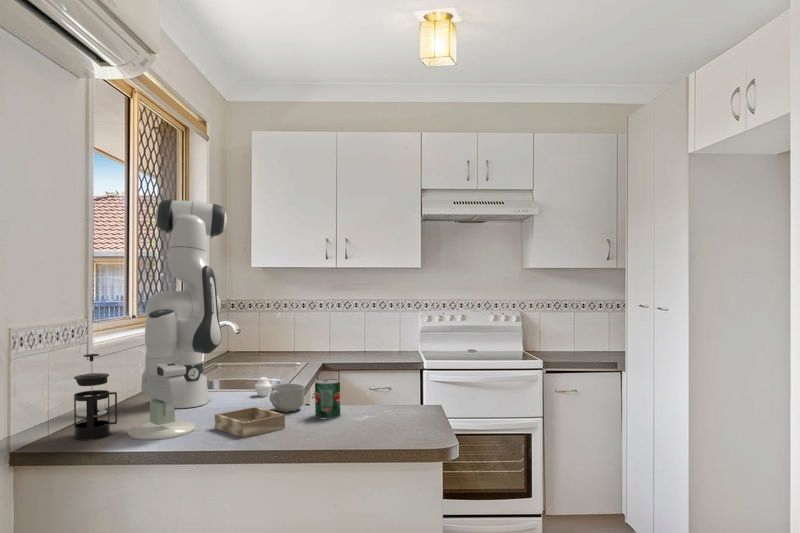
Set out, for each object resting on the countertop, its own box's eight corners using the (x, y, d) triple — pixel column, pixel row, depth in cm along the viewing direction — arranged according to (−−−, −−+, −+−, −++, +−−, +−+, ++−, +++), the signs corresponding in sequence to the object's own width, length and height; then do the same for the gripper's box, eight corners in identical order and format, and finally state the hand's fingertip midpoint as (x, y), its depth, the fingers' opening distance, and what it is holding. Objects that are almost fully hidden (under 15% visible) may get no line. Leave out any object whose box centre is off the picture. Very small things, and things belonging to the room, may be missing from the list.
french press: (68, 442, 174) (67, 357, 174) (73, 433, 183) (72, 353, 183) (115, 437, 178) (114, 354, 178) (118, 429, 187) (117, 350, 187)
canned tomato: (344, 416, 199) (344, 381, 199) (321, 420, 195) (320, 384, 195) (334, 412, 206) (333, 377, 206) (311, 415, 202) (311, 380, 202)
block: (150, 422, 184) (149, 401, 184) (166, 419, 188) (166, 398, 188) (158, 425, 181) (157, 403, 181) (174, 421, 184) (174, 401, 184)
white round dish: (117, 432, 184) (117, 428, 184) (177, 420, 197) (176, 417, 197) (144, 443, 171) (144, 440, 171) (206, 430, 184) (206, 427, 184)
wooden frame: (215, 428, 187) (214, 414, 187) (255, 419, 197) (255, 406, 197) (243, 437, 176) (243, 423, 176) (285, 428, 186) (284, 414, 186)
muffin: (267, 398, 229) (266, 378, 229) (251, 397, 231) (251, 377, 231) (274, 394, 235) (274, 375, 235) (259, 393, 237) (259, 374, 237)
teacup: (290, 405, 217) (289, 381, 217) (312, 409, 210) (311, 385, 210) (256, 412, 206) (256, 387, 206) (278, 417, 200) (278, 391, 200)
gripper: (135, 364, 189) (136, 411, 189) (167, 371, 175) (168, 422, 175) (156, 361, 194) (156, 407, 194) (189, 368, 179) (189, 418, 179)
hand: (162, 414), depth 184 cm, fingers closed on block, 5 cm apart
